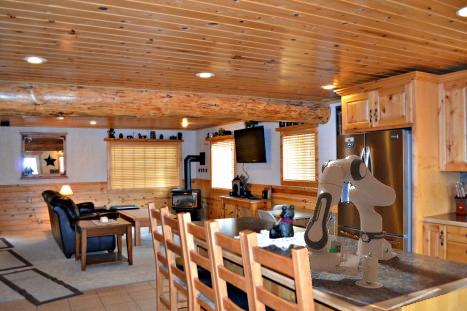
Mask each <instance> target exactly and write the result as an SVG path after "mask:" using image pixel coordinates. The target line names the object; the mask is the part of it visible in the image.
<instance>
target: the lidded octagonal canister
mask: <svg viewBox="0 0 467 311" xmlns="http://www.w3.org/2000/svg"><path fill="white" fill-rule="evenodd" d="M361 260H362V267H366V266H368V267H371V271H370V272H361V280H363V281H365V282H373V283H375V282H379V260H378V257H377V256H375V255H372V253H368V255H363V258H361Z"/></svg>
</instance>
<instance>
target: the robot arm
mask: <svg viewBox="0 0 467 311" xmlns="http://www.w3.org/2000/svg"><path fill="white" fill-rule="evenodd" d="M320 176H321V177H320V179H319V184H318V187H317V188H318V189H317V193H316V194H317V196H316V205H315V208H314V211H313V215H312V219H311V222H310V223H309V225H308V227H307V228H306V229H305V231H304V234H303V240H304V243H305V246H304V248H307V249H308V255H309V262H310V269H311V271H310V272H312V273H313V272H314V273H319V274H320V273H327V274H331V275H340V276H341V275H347V276H351V277H353V276H354V277H356V276H358V275H359V273H362V272H370V271H371V267H368V266H366V267H362V258H363V255H368V253H372V255H375V256H377V257H378V261H389V260H391V259H393V258H395V257H397V253H396V252H393V251H392V250H393V249H392V244H391V243H390V242H389V241H388V240H387V239H385V236H386V235H388V234H387V233H388V232H387V231H385V230H383V216H382V215H381V214H380V213H378V212H377V211H376V210H375V209H374V207H375V206H376V207H387V206H388V207H389V206H392V205H393V204H394V203H395V201H396V198H397V194H396V191H395V190H394V188H393V187H392V186H389V185H386V184H384V183H382V182H381V181H380V180H378V179H377V178H375V176H374V175H373V174H372V173H371V171H370V169H369V167H368V165H366V163H365V162H364V160H363V159H362V158H361V157H360V156H358V155H357V154H350V155H347V156H346V157H345V158H339V159H330V160H329V159H328V160H326V161H325V162H324V163H323V164H322V166H321V175H320ZM345 182H350V183H351V184H352V185H351V186H350V188H349V189H348V192H347V195H348V199H349V201H350V202H351V203H352V204H353V205H354V206H355V208H356V209H357V211H358V214H359V218H360V230H359V237H360V238H359V239H358V245H357V251H356V252H355V253H356V255H355V254H348V253H344V252H339V253H329V251H330V247H331V240H332V239H331V237H330V236H329V234H328V231H327V223H328V218H329V216H330V211H331V209H332V207H335V206H338V204H339V203H340V200H341V198H342V195H343V192H344V191H343V190H344V183H345Z"/></svg>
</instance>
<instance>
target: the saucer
mask: <svg viewBox="0 0 467 311" xmlns="http://www.w3.org/2000/svg"><path fill="white" fill-rule="evenodd" d="M354 284H355V285H357V286H359V287H362V288H367V289H380V288H382V287H383V286H384V284H383V283H381V282H379V281H378V282H375V283H373V282H372V283H371V284H367V283H366V282H365V281H363V280H362V279H361V280H359V279H358V280H356V281H355V283H354Z"/></svg>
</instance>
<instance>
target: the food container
mask: <svg viewBox="0 0 467 311" xmlns="http://www.w3.org/2000/svg"><path fill="white" fill-rule="evenodd" d="M330 240H331V247H330V251H329V253H339V252H341V251H342V246H343V244H342V241H338V240H337V241H336V240H334V239H330Z"/></svg>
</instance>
